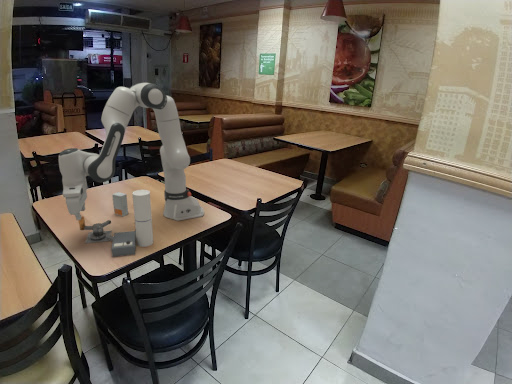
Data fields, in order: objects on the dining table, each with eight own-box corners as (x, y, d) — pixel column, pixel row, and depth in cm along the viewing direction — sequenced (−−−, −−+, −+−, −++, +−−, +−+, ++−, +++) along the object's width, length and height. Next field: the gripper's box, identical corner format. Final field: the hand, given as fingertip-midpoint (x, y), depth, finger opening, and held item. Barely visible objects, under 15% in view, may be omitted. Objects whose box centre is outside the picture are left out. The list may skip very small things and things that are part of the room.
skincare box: (114, 214, 164) (111, 194, 160) (119, 211, 168) (117, 191, 164) (123, 216, 162) (120, 196, 158) (128, 213, 166) (126, 193, 162)
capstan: (86, 229, 147) (83, 211, 143) (112, 229, 148) (110, 211, 145) (75, 243, 134) (72, 224, 131) (103, 243, 136) (101, 224, 133)
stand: (136, 228, 152) (135, 218, 149) (135, 254, 130) (134, 242, 128) (88, 232, 145) (87, 222, 143) (78, 260, 124) (76, 248, 122)
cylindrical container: (133, 244, 138) (128, 193, 129) (144, 237, 144) (140, 188, 135) (146, 248, 135) (142, 196, 126) (156, 241, 142) (153, 191, 133)
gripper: (72, 178, 139) (77, 206, 144) (61, 195, 121) (68, 226, 126) (87, 177, 141) (92, 204, 146) (79, 194, 123) (85, 224, 128)
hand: (81, 214), depth 136 cm, fingers open, 8 cm apart
